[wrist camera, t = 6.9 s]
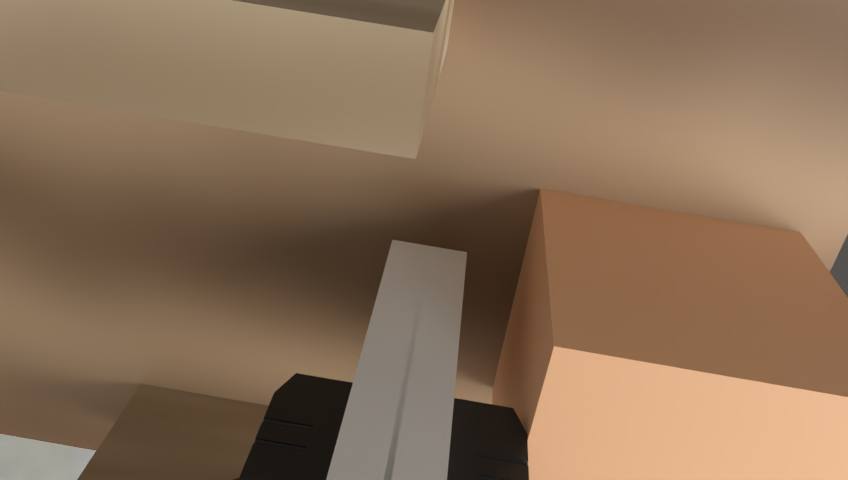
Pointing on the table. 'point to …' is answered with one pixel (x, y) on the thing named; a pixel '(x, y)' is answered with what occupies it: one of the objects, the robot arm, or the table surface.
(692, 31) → the deck
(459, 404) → the robot arm
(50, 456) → the table surface
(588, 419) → the block
